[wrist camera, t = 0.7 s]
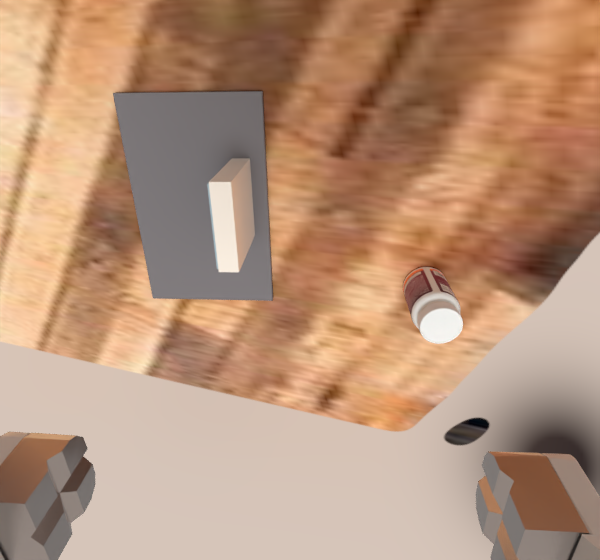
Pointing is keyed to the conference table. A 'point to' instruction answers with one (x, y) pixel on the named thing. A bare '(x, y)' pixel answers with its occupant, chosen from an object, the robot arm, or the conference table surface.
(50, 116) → the conference table surface
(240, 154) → the mat
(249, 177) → the tile
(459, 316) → the pill bottle
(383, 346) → the conference table surface
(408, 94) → the conference table surface
